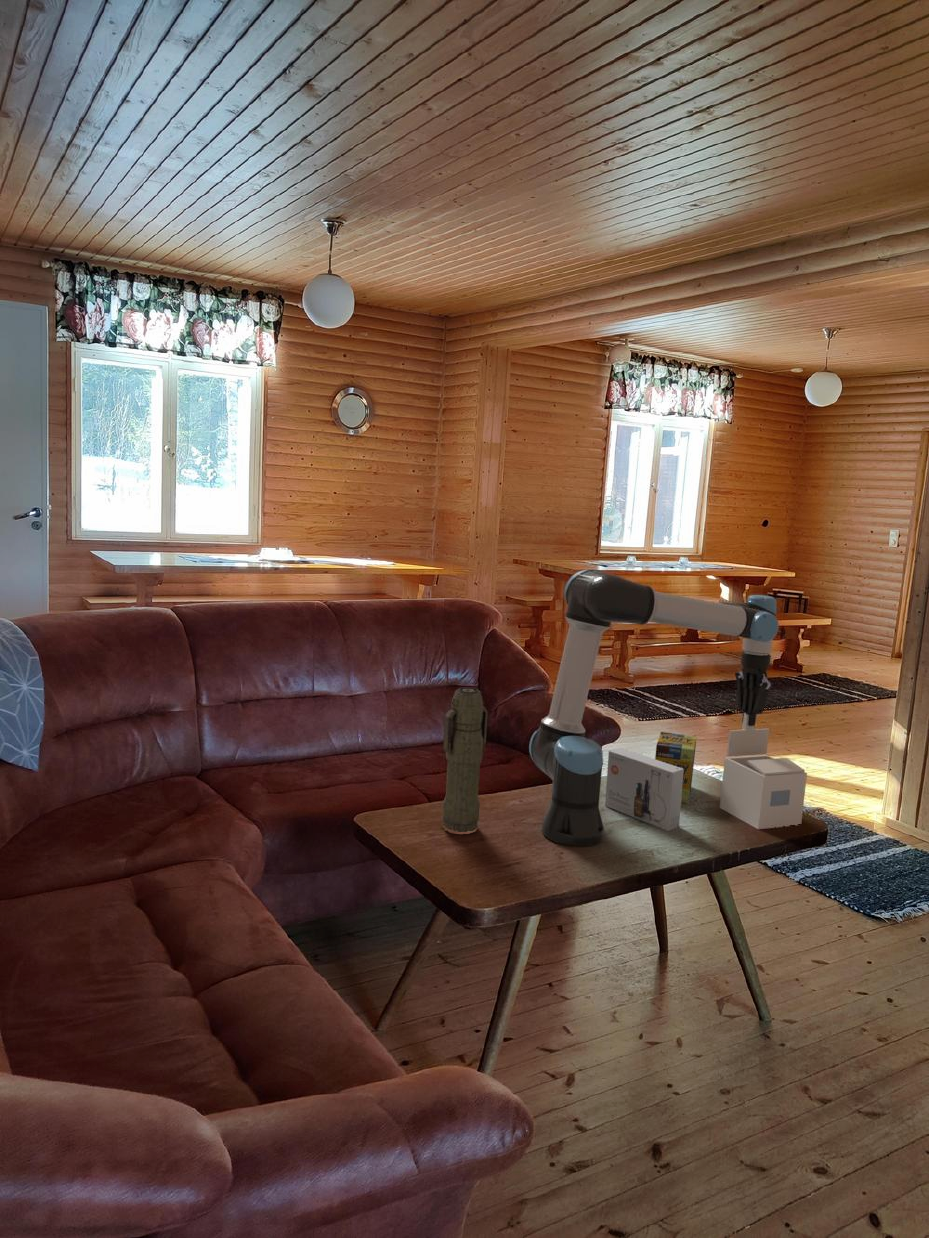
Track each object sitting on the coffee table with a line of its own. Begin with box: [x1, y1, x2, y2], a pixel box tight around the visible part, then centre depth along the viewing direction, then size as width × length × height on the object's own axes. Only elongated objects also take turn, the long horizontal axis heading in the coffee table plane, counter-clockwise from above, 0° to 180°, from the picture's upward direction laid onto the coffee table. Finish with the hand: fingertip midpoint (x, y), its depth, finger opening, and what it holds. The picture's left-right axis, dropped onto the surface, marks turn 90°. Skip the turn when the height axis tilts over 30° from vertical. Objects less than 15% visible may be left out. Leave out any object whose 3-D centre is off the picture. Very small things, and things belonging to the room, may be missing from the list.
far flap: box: [726, 727, 770, 757], centre depth 246 cm, size 13×7×1 cm
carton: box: [719, 754, 808, 830], centre depth 240 cm, size 14×16×14 cm
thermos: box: [442, 687, 489, 832], centre depth 218 cm, size 9×12×35 cm
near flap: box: [747, 757, 806, 775], centre depth 235 cm, size 13×7×1 cm, turn 111°
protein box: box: [654, 731, 697, 804], centre depth 256 cm, size 10×15×16 cm
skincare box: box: [604, 747, 684, 831], centre depth 235 cm, size 21×6×16 cm, turn 42°
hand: (747, 736), depth 246 cm, fingers closed
